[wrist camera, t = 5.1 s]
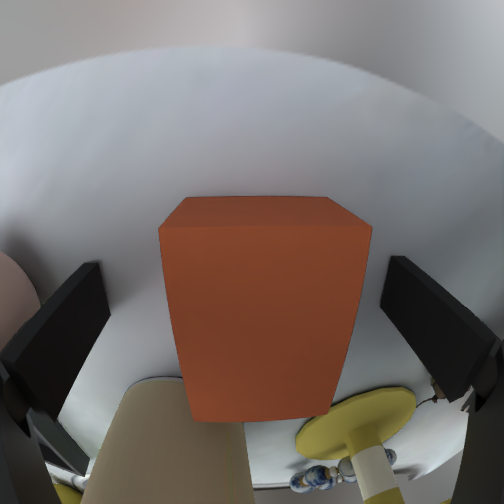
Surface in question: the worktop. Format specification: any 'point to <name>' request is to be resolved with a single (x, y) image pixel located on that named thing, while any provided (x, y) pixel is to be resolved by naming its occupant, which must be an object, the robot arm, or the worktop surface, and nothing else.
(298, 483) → the bracelet
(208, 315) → the loose pad
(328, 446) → the yellow disc white stick
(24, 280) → the egg
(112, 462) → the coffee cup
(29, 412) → the pad frame
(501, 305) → the worktop surface
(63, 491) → the sculpture
